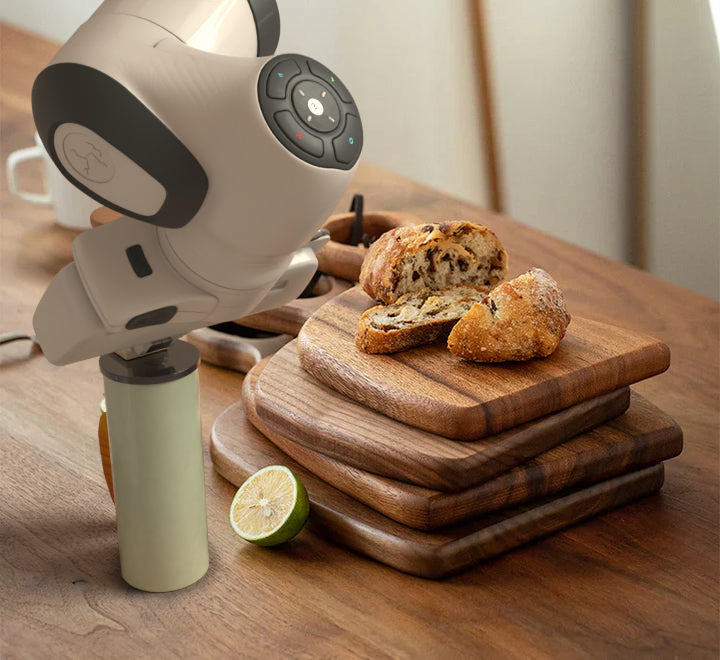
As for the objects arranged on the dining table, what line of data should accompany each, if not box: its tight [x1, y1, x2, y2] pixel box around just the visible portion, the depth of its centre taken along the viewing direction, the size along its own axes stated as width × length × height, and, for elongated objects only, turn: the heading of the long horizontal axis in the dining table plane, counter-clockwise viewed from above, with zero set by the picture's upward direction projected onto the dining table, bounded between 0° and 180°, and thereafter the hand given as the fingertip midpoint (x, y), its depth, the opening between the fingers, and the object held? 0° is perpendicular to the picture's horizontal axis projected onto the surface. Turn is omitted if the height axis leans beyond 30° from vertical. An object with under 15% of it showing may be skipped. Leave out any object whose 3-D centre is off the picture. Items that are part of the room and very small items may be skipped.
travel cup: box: [98, 338, 210, 593], centre depth 85 cm, size 8×8×19 cm
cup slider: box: [115, 347, 168, 360], centre depth 83 cm, size 4×3×2 cm
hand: (150, 342), depth 81 cm, fingers closed, pressing on cup slider
